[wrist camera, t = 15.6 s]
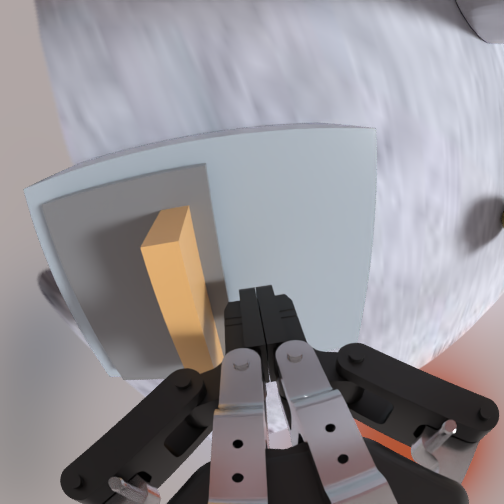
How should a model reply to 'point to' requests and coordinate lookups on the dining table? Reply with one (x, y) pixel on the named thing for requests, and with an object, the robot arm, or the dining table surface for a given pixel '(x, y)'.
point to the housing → (260, 216)
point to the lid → (146, 269)
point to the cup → (502, 219)
